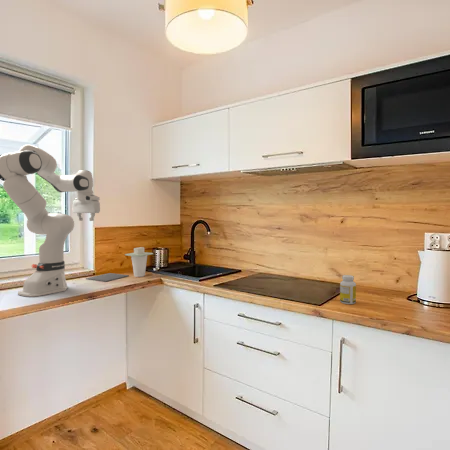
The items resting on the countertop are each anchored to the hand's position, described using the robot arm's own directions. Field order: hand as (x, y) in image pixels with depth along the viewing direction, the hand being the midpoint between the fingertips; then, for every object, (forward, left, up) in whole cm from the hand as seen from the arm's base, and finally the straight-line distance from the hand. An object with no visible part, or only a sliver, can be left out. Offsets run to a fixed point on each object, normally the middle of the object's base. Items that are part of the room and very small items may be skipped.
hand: (86, 220), depth 202 cm
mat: (+4, -13, -34) cm, 37 cm away
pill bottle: (+13, -148, -34) cm, 152 cm away
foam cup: (+17, -26, -34) cm, 46 cm away
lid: (+17, -26, -21) cm, 38 cm away
